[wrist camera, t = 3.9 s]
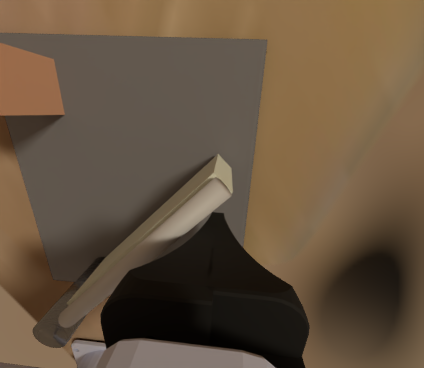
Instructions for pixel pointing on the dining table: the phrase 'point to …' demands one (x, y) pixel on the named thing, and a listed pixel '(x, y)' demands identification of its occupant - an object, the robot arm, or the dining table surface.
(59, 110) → the block
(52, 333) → the gate post
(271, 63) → the dining table surface
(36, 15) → the dining table surface
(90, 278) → the bar
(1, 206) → the dining table surface
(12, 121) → the mat
